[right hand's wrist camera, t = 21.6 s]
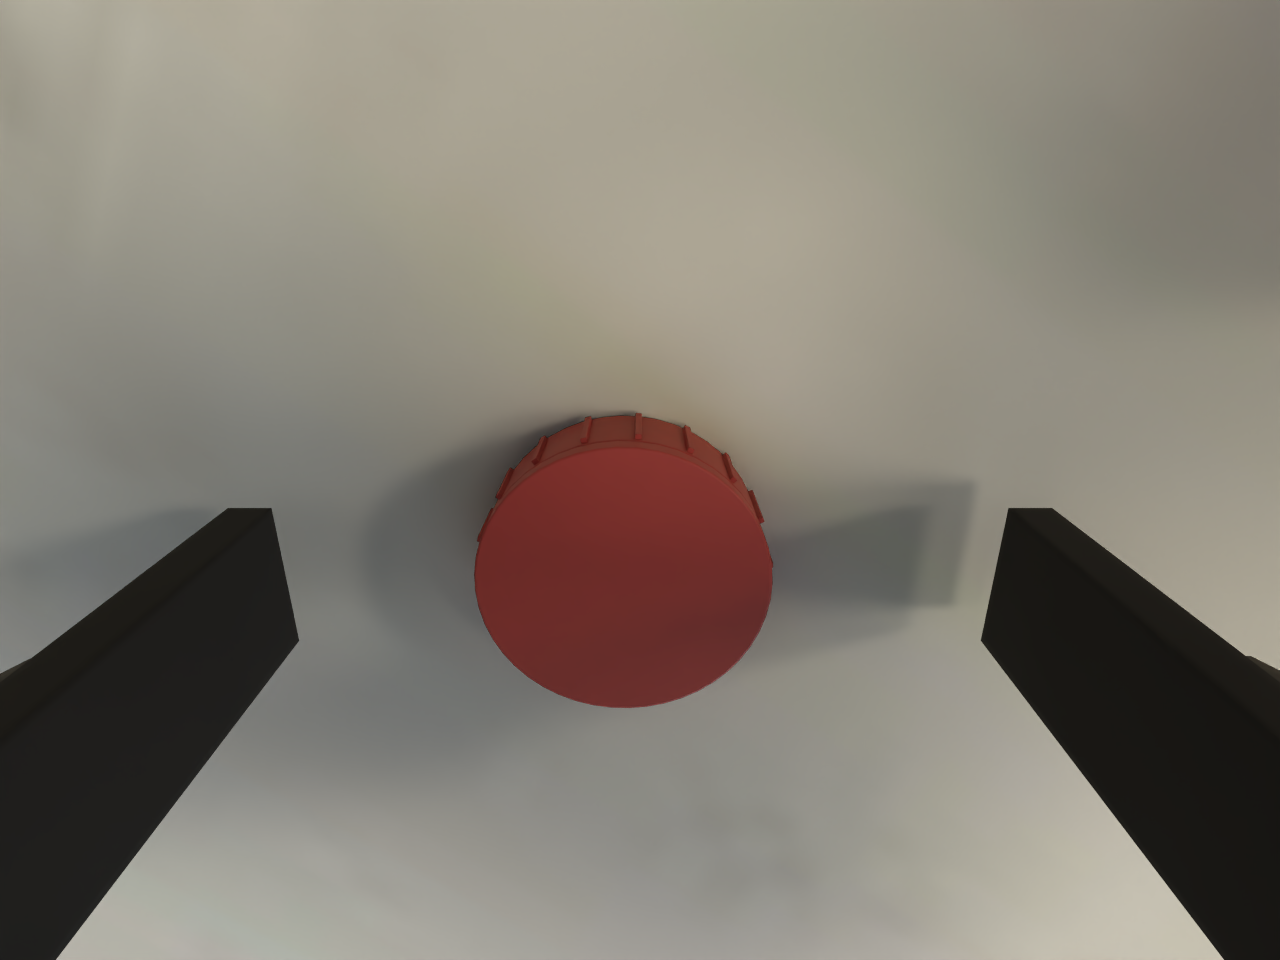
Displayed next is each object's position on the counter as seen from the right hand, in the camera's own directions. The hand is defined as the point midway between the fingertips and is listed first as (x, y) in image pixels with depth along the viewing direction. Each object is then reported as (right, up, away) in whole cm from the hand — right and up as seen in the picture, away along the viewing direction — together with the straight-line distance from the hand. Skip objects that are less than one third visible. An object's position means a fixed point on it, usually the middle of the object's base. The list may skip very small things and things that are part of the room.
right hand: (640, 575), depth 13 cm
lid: (0, 0, 0) cm, 1 cm away
